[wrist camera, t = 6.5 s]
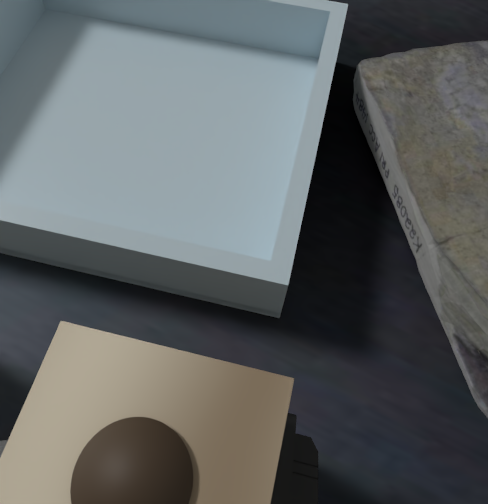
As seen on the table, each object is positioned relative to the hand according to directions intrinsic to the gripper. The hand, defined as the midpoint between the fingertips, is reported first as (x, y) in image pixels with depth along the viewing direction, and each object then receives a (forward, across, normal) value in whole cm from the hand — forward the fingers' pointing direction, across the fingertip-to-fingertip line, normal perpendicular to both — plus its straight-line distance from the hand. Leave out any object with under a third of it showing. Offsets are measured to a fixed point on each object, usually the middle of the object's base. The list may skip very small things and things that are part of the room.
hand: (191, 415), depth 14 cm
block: (+2, 0, +4) cm, 5 cm away
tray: (+12, +7, -6) cm, 15 cm away
